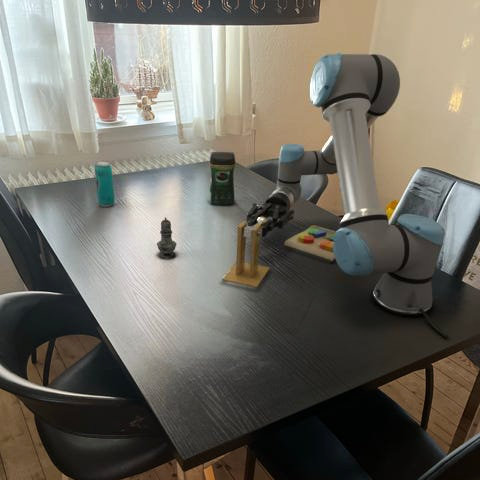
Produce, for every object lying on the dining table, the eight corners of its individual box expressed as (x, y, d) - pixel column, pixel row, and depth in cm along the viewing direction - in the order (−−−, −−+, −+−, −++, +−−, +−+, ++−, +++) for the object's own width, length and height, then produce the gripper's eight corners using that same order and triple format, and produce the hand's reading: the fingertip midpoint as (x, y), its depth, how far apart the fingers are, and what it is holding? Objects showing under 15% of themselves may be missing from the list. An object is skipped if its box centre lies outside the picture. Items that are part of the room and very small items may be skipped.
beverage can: (98, 202, 183) (93, 161, 174) (114, 201, 184) (110, 160, 176) (99, 208, 178) (94, 166, 170) (115, 206, 180) (111, 165, 171)
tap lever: (257, 226, 146) (258, 214, 145) (269, 229, 145) (270, 216, 144) (240, 238, 133) (241, 225, 131) (253, 240, 132) (254, 227, 130)
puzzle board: (357, 243, 163) (359, 233, 161) (332, 264, 150) (333, 254, 148) (309, 229, 171) (311, 220, 169) (282, 248, 158) (283, 238, 156)
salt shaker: (173, 260, 147) (172, 222, 141) (154, 257, 148) (152, 219, 141) (179, 251, 152) (178, 214, 145) (160, 249, 153) (159, 212, 146)
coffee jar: (234, 198, 192) (236, 149, 182) (234, 206, 186) (236, 155, 175) (209, 197, 192) (209, 148, 181) (208, 205, 185) (209, 154, 175)
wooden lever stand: (237, 265, 147) (239, 214, 138) (269, 272, 144) (274, 220, 135) (222, 283, 137) (223, 230, 128) (256, 291, 135) (260, 237, 126)
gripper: (303, 219, 158) (283, 249, 139) (253, 210, 162) (227, 237, 143) (306, 196, 153) (286, 223, 135) (255, 187, 158) (228, 213, 139)
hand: (256, 231), depth 139 cm, fingers closed on tap lever, 4 cm apart
